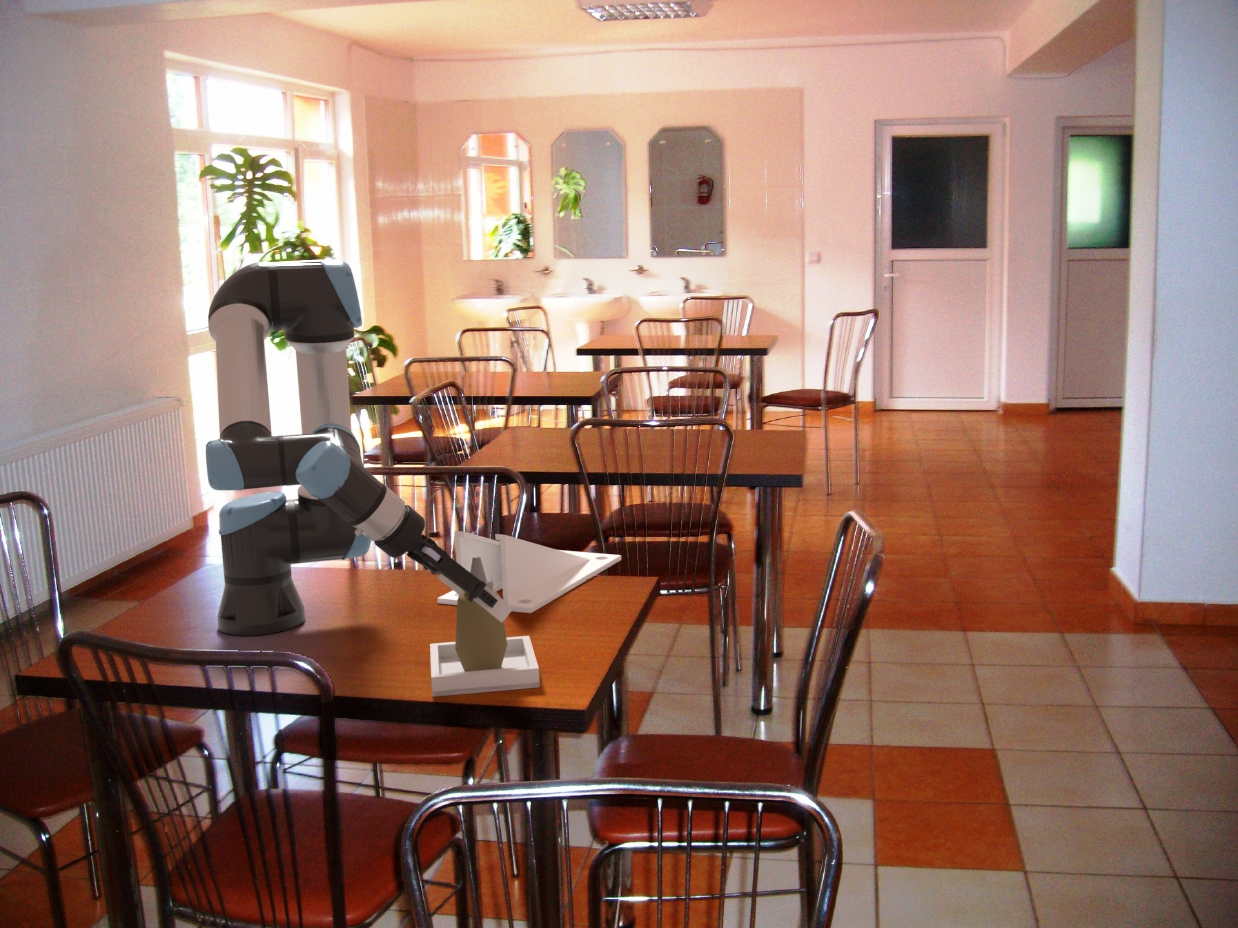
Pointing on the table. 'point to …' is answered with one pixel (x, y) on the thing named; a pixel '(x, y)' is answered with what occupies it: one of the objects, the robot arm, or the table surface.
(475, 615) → the squeeze bottle
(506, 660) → the tray
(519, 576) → the white bracket
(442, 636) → the table surface
